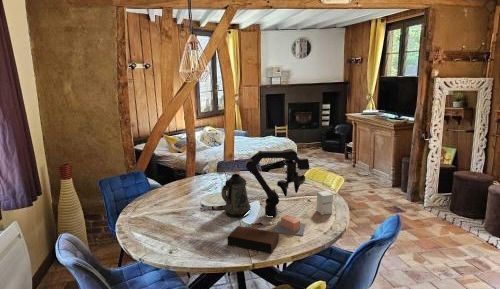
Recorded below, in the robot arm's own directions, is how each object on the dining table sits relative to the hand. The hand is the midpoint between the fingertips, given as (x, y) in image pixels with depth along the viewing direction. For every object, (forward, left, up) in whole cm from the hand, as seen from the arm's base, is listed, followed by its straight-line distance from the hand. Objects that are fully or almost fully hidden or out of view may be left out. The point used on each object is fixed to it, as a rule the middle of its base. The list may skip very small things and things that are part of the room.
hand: (291, 194), depth 205 cm
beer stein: (-33, -6, -13) cm, 36 cm away
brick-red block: (-2, -16, -10) cm, 19 cm away
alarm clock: (-14, -40, -14) cm, 45 cm away
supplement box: (+20, +8, -13) cm, 25 cm away
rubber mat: (+2, -19, -13) cm, 23 cm away
